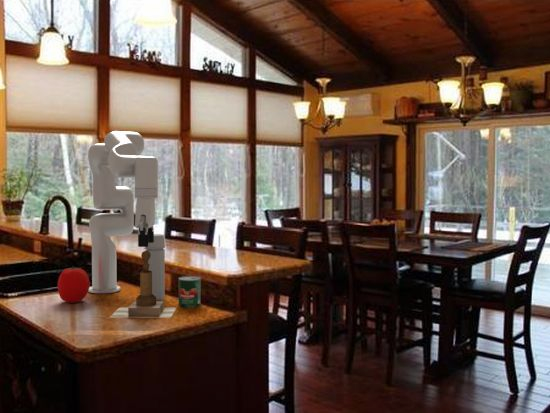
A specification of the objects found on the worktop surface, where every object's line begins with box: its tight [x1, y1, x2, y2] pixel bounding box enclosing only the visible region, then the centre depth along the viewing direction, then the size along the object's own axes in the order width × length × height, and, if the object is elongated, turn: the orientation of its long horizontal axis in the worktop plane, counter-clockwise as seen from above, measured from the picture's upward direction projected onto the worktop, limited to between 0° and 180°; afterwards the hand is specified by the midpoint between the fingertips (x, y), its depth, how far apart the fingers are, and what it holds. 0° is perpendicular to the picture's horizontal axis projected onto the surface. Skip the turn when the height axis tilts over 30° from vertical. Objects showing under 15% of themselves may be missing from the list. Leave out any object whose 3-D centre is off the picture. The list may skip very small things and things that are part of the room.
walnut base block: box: [128, 300, 165, 317], centre depth 190 cm, size 10×10×3 cm
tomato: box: [57, 266, 91, 304], centre depth 209 cm, size 12×12×13 cm
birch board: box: [108, 306, 177, 319], centre depth 191 cm, size 14×20×1 cm
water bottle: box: [143, 233, 166, 301], centre depth 213 cm, size 9×8×25 cm
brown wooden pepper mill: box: [135, 250, 157, 306], centre depth 189 cm, size 7×6×18 cm
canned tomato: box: [178, 275, 202, 309], centre depth 202 cm, size 8×8×11 cm
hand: (146, 244), depth 189 cm, fingers open, 9 cm apart
